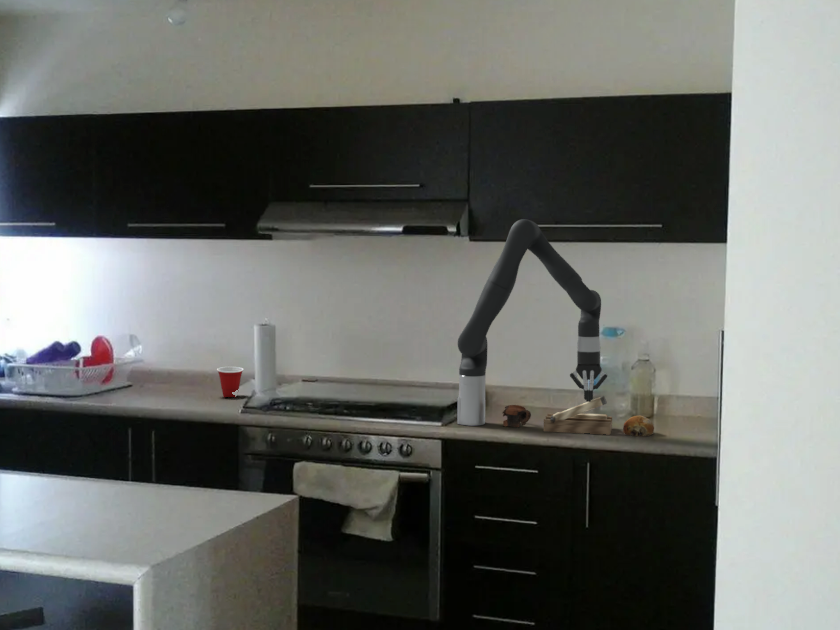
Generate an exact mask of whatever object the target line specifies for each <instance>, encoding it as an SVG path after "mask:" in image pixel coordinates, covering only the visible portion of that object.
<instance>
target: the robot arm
mask: <svg viewBox="0 0 840 630" xmlns="http://www.w3.org/2000/svg"><path fill="white" fill-rule="evenodd" d="M527 251H530V252H531V253H532V254H533V255H534V256H536V257H537V259H539V261H540V262H541V263H542V265H543V266H544V267H545V269H546V270H547V272H548V273H549V274H550V276H551V277H552V278H553V279H554V281H556V283H557V284H558V285H559V286H560V288H562V289H563V290H564V291H565V292H566V294H567V295H568V296H569V298H570V300H571V301H572V302H573V304H575V306H576V307H577V308H578V309H579V310H580V319H579V320H578V325H577V346H576V348H577V351H576V353H577V354H576V355H577V356H576V358H577V360H576V361H577V362H576V365H577V366H576V368H575V370H574V371H573V372H571V373H570V374H569V377H570V378H571V380H572V381H573V382H574V383H575V385H576V386H577V387H578V389H581V390H583V399H584V401H585V403H586V402H588V401H589V402H591V400H594V390H597V389H599V388H600V386H601V385H602V384H603V383H604V382H605V380H606V379H607V377H608V374H607V373H605V372H604V371H603V370H602V367H601V340H600V317H601V311H602V298H601V295H600V294H599V293H598V292H597V291H596V290H593V289H590V288H589V287H588V286H587V285H586V283H584V282H583V279H582V277H581V276H580V274H579V273H578V272H577V271H576V270H575V269H574V268H573V267H572V266H571V265H570V263H569V262H567V260H565V259H564V257H563V256H562V255H560V254H559V253H558V251H556V249H555V248H554V247H553V246H552V244H551V243H550V242H549V240H548V239H547V238H546V236H545V235H544V233H543V232H542V230H541V228H540V227H539V225H538V223H536V222H534V221H533V220H529V219H526V218H525V219H524V218H523V219H522V218H521V219H519V220H517V221H515V222H514V223H513V225H512V226H511V227H510V229H509V231H508V235H507V238H506V241H505V244H504V247H503V249H502V251H501V253H500V255H499V258H498V259H497V261H496V263H495V265H494V266H493V269H492V270H491V272H490V274H489V276H488V277H487V280H486V282H485V284H484V287H483V288H482V290H481V293H480V295H479V297H478V301H477V302H476V304H475V308H474V311H473V313H472V314H471V317H470V318H469V320H468V321H467V324H466V325H465V327H464V328H463V330H462V331H461V333H460V335H459V336H458V339H457V348H458V351H459V352H460V353H461V361H460V364H459V368H458V370H459V371H458V376H459V377H458V382H459V383H458V384H459V385H458V396H457V410H456V411H457V413H456V414H457V415H456V416H457V419H456V420H457V425H462V426H469V427H471V426H483V425H485V424H486V370H487V365H488V337H487V334H488V332H489V330H490V327H491V325H492V324H493V321H494V320H495V319H496V318H497V316H498V315H499V314H500V312H501V311H502V309H503V308H504V307H505V305H506V304H507V301H508V300H509V297H510V296H511V293H512V292H513V290H514V287H515V285H516V281H517V276H518V272H519V268H520V265H521V263H522V259H523V258H524V256H525V254H526V252H527ZM578 376H579V377H580V378H581V380H582V381H583V382H581V381H580V380H579V378H578ZM598 376H599V378H600V379H599V380H598V381H597V382H596V384H595V380H596V379H597V378H598Z"/></svg>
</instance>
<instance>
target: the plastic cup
mask: <svg viewBox="0 0 840 630" xmlns="http://www.w3.org/2000/svg"><path fill="white" fill-rule="evenodd" d="M216 371H217V372H218V377H219V381H220V386H221V392H222V396H223V397H222V398H225V397H234V398H236V397H235V395H233V394H232V392H235V391H236V390H238V389H240V383H241V377H242V374H243V371H244V368H243V367H239V366H221V367H218V368H216ZM238 391H239V390H238Z"/></svg>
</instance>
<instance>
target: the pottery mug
mask: <svg viewBox="0 0 840 630" xmlns="http://www.w3.org/2000/svg"><path fill="white" fill-rule="evenodd" d="M505 416H506V419H504V420H503V421H502V423H503V424H502V425H503V427H504V426H505V428H507V427H511V428H513V427H514V428H517V427H519V428H520V425H522V426H525V425H526V424H527V423H528V422H529V421H530V419H531V417H532V414H531V411H530V410H529V409H527V408H525V407H524V406H522V405H519V404H517V405H516V404H508V405H505V407H504V410H503V411H502V417H505Z"/></svg>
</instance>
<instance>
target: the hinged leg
mask: <svg viewBox="0 0 840 630" xmlns="http://www.w3.org/2000/svg"><path fill="white" fill-rule="evenodd" d="M606 404H607V400H606V397H605V395H602V396H600V397H596V398H593V399H592V400H591V402H589V401H588V402H586V401H585V402H584V403H581V404H578V405H576V406H572V407H569V408H568V409H565V410H562V411H559V413H557V412H556V413H557V414H556V413H553V414H554V415H552V416H551V418H555V420H565V419H567V418H570V417H572V416H575V415H578V414H580V413H586V412H588V411H591V410H593V409H597V408H600V407H601V406H604V405H606ZM551 418H550V419H551Z"/></svg>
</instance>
